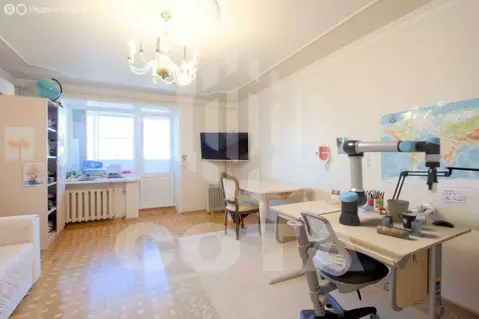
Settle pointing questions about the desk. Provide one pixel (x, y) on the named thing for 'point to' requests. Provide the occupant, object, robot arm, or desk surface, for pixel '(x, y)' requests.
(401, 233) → the wooden cylinder
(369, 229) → the desk surface
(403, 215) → the coffee mug
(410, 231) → the bracket
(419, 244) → the desk surface
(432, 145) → the robot arm
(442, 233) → the desk surface
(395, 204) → the plant pot
